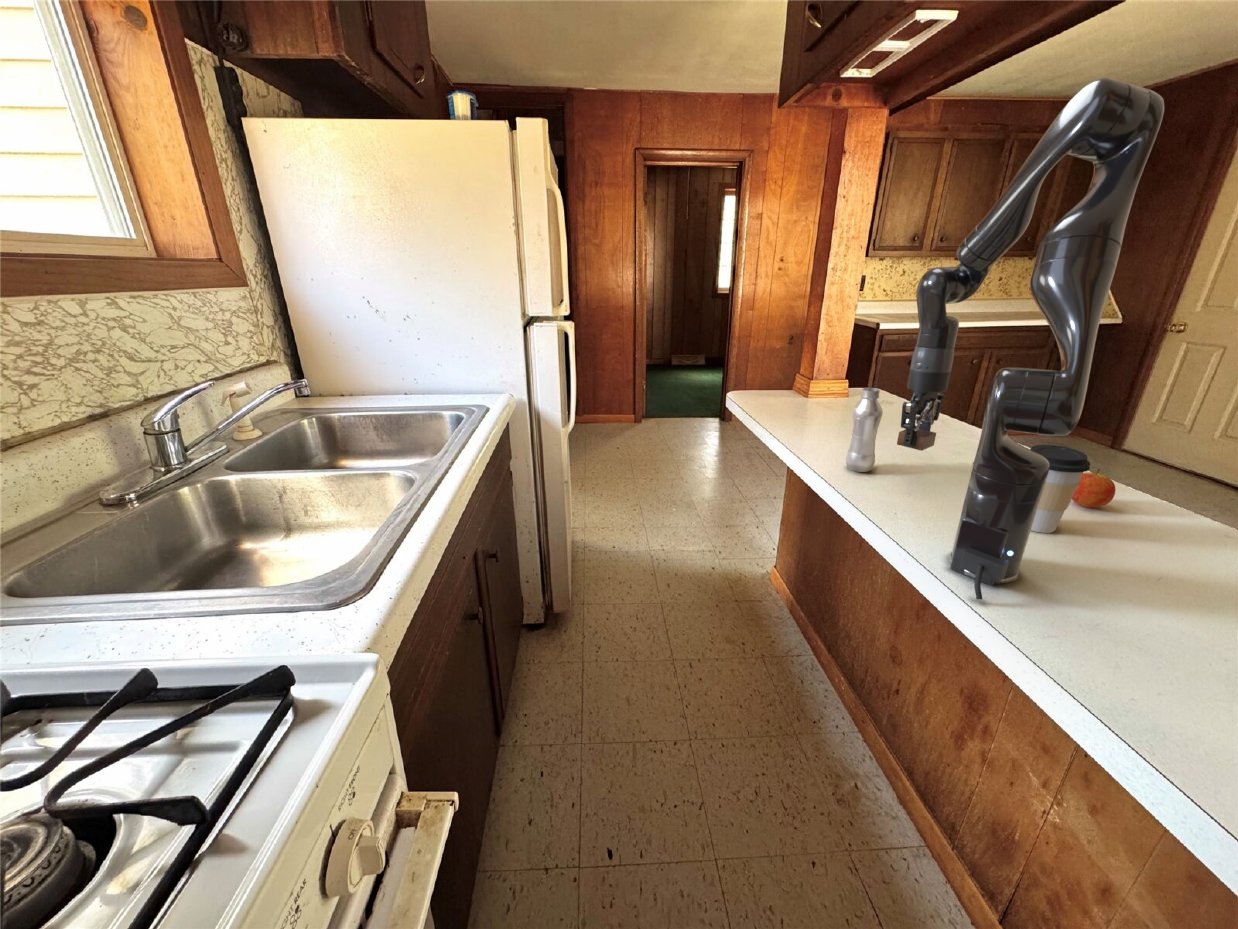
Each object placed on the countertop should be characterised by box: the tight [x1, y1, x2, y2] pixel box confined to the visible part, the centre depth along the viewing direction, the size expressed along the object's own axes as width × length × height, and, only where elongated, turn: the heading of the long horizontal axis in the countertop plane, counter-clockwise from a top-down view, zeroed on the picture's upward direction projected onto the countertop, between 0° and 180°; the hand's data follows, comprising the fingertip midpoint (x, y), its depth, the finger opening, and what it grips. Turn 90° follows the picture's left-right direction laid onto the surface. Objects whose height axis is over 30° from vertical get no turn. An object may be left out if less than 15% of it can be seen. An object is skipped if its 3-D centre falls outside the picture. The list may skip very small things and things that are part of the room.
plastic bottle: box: [845, 387, 883, 473], centre depth 121 cm, size 6×7×20 cm
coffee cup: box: [1029, 444, 1091, 534], centre depth 94 cm, size 9×9×15 cm
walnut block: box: [896, 428, 937, 452], centre depth 114 cm, size 6×6×3 cm
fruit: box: [1071, 468, 1116, 509], centre depth 102 cm, size 7×7×8 cm
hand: (915, 442), depth 114 cm, fingers closed on walnut block, 5 cm apart
